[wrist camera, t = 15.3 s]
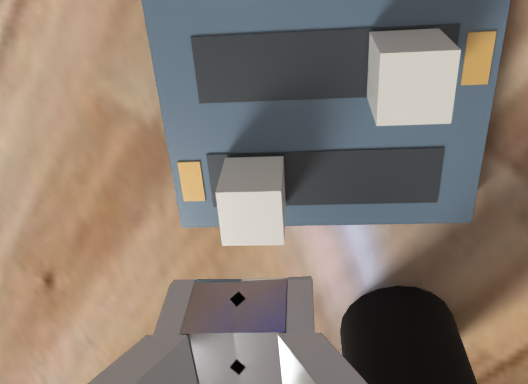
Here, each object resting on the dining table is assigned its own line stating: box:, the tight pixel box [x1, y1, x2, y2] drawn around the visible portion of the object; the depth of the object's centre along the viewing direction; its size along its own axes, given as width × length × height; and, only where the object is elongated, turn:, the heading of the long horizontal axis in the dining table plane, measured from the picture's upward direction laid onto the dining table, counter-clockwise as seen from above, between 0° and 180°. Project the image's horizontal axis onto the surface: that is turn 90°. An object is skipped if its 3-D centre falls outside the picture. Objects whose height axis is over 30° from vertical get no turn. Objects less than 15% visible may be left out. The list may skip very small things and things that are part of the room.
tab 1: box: [215, 156, 286, 246], centre depth 25 cm, size 3×3×4 cm
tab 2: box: [367, 28, 461, 126], centre depth 21 cm, size 3×3×4 cm
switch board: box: [142, 0, 511, 228], centre depth 24 cm, size 16×18×2 cm
